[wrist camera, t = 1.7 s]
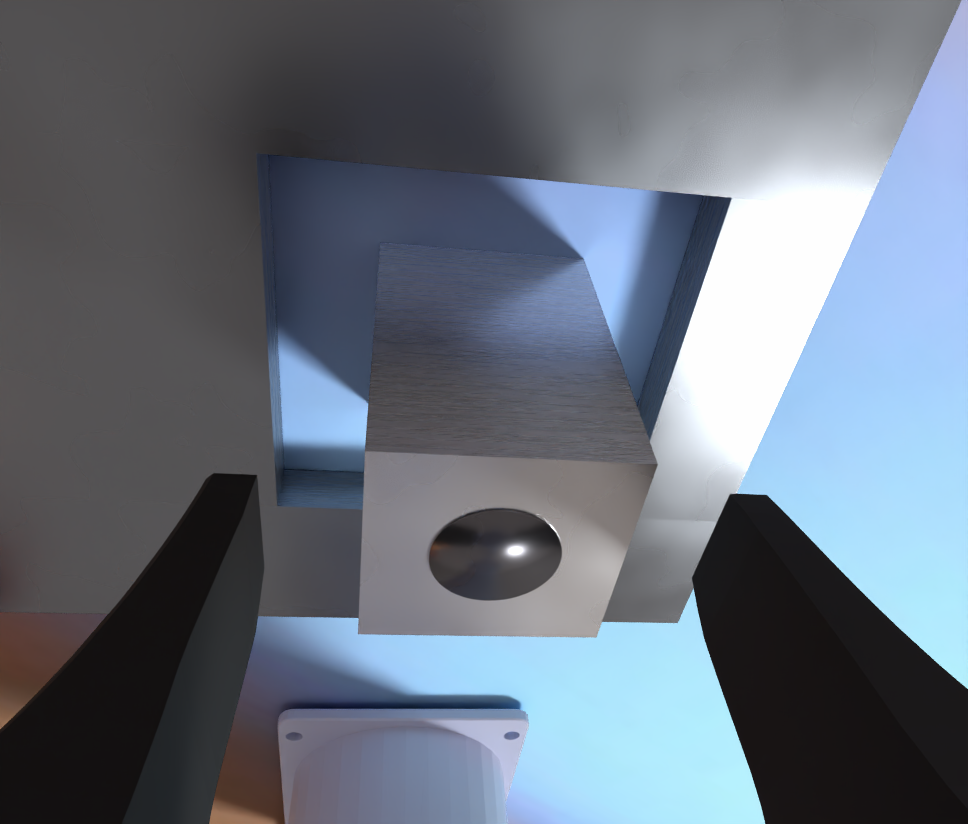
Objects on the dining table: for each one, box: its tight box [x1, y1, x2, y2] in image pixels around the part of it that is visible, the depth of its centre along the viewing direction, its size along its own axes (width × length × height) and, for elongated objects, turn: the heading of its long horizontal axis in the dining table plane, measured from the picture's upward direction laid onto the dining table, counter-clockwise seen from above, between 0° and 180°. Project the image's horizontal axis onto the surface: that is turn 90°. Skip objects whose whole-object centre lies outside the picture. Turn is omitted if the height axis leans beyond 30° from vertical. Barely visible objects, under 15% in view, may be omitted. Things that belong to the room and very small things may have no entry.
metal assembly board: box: [0, 0, 961, 623], centre depth 15 cm, size 16×30×1 cm, turn 83°
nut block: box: [358, 242, 658, 637], centre depth 14 cm, size 4×4×6 cm
